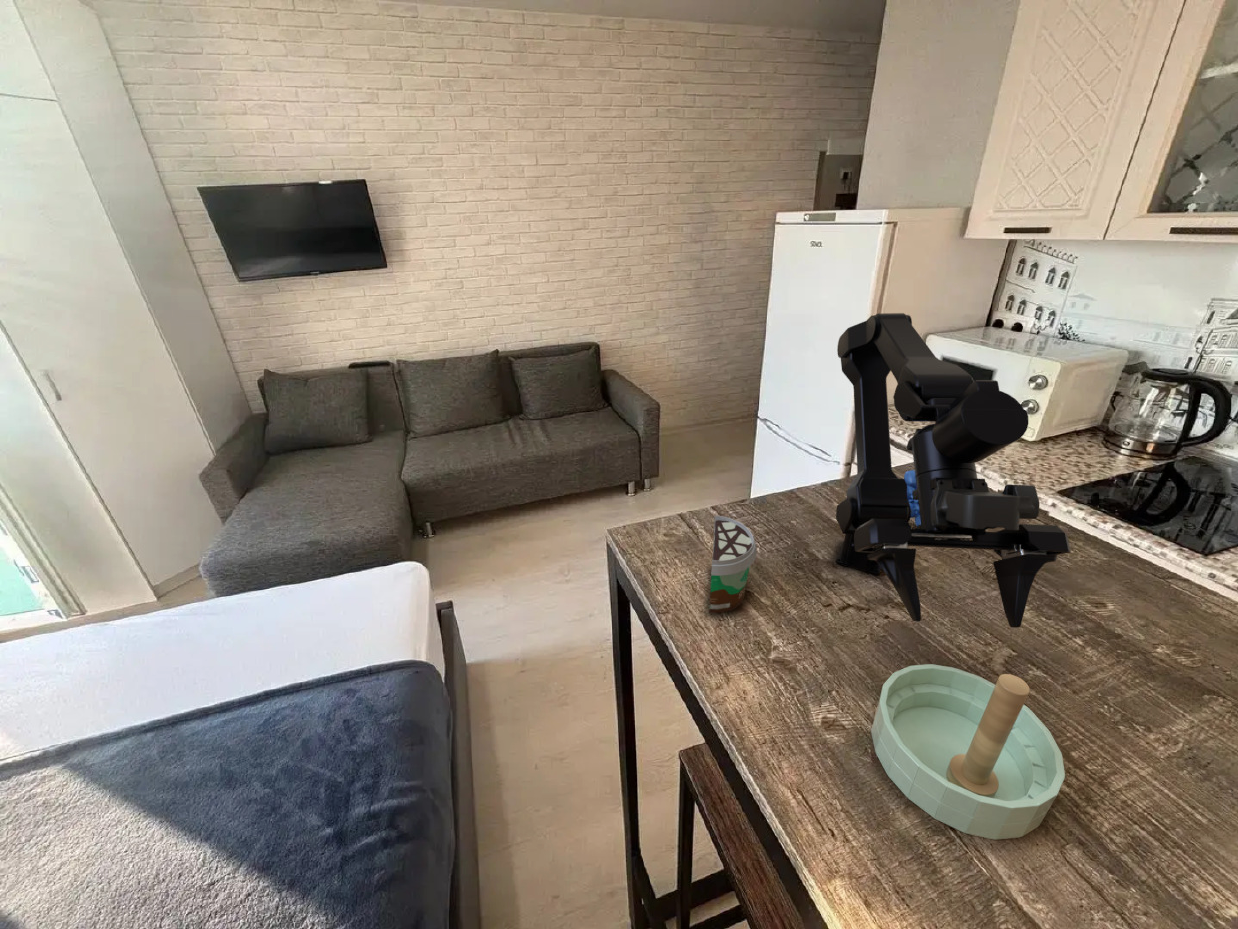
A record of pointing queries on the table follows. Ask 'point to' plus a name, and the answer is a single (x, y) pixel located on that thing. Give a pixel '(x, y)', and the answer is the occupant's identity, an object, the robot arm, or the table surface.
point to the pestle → (989, 738)
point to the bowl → (963, 752)
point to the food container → (730, 563)
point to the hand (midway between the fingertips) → (965, 624)
